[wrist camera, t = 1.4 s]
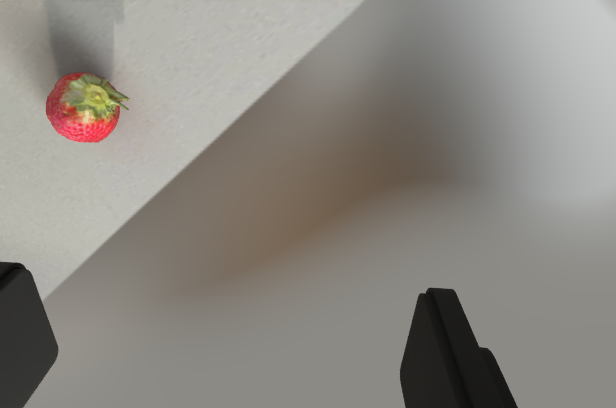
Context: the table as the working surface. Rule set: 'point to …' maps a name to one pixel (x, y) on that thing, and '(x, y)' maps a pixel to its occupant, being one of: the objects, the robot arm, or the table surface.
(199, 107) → the table surface
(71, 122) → the fruit
